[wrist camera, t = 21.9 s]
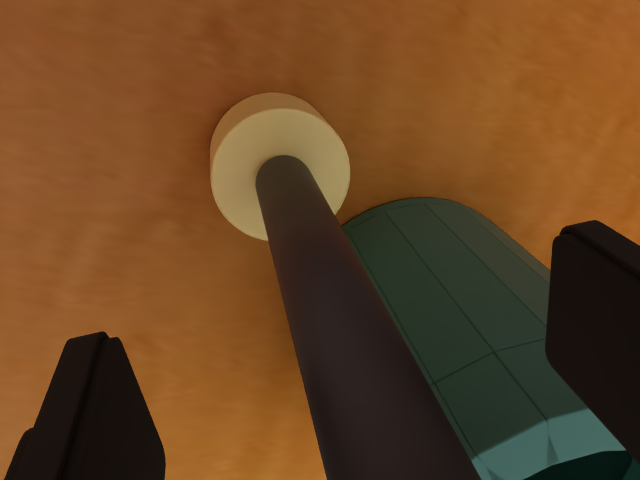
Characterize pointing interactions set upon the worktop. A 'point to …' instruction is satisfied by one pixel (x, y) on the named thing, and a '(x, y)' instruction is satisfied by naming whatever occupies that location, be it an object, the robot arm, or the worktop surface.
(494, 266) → the teal hollow cylinder
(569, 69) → the worktop surface
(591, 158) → the worktop surface
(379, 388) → the joystick
